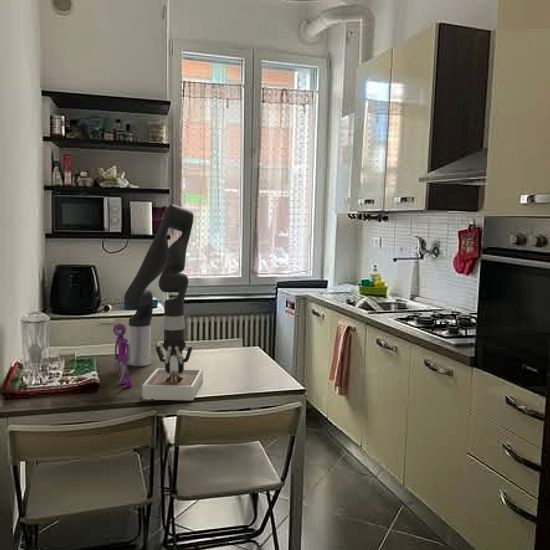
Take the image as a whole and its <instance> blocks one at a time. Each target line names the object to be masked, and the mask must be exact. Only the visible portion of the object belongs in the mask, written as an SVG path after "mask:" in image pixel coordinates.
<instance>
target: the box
mask: <svg viewBox="0 0 550 550" xmlns="http://www.w3.org/2000/svg"><path fill="white" fill-rule="evenodd" d="M159 374H169V373H167V372H166V371H165V368H160V367H159V368H156V369H155V370H154V371H153V372H152V373H151V374H150V376H149V377H148V378H147V379H146V380H145V381H144V383H143V384H142V386H141V388H142V389H141V390H142V391H141V392H142V393H141V394H142V395H141V398H142V400H151V399H154V400H153V401H155V400H157V401H158V400H159V401H161V400H162V401H194V399H195V397H196V395H197V394H198V391H199V390H200V388H201V386H202V384H203V382H204V369H201V368H200V369H199V368H197V369H196V368H184V370H183V372H182V373H181V374H186V375H196V378H195V379H194V381H193V383H192V384H191V386H180V385H151V384H152V383H153V381H154V380H155V379H156V378H157V377H158V375H159Z"/></svg>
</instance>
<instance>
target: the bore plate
mask: <svg viewBox="0 0 550 550" xmlns="http://www.w3.org/2000/svg"><path fill="white" fill-rule="evenodd" d="M195 378H196V375H186V374H180V382H169V374H159V375H158V377H157V378H156V379H155V380H154V381H153V383H152V384H151V385H180V386H191V384H192V383H193V381H194V379H195Z"/></svg>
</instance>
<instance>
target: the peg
mask: <svg viewBox="0 0 550 550" xmlns="http://www.w3.org/2000/svg"><path fill="white" fill-rule="evenodd" d="M179 363H180V362H179V358H178V356H177V355H175V354H173V355H170V357H169V382H180V373H179Z"/></svg>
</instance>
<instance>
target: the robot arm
mask: <svg viewBox="0 0 550 550" xmlns="http://www.w3.org/2000/svg"><path fill="white" fill-rule="evenodd" d="M161 219H162V220H161V221H160V225H159V227H158V230H157V231H156V234H155V237H154V239H153V240H152V243H151V244H150V245H149V248H148V250H147V252H146V254H145V256H144V258H143V261H142V263H141V265H140V267H139V269H138V270H137V273H136V275H135V277H134V279H133V280H132V282H131V283H130V285H129V286H128V288H127V290H126V292H125V293H124V296H123V304H124V306H125V308H126V309H128V310H130V311H136V312H135V313H134V314H133V315H132V316H131V317H130V318H128V342H127V343H128V346H129V352H128V357H129V361H128V362H127V366H132V367H145V366H149V365H151V364H152V342H151V341H152V337H151V336H152V334H151V333H152V332H151V329H152V326H151V324H152V322H151V321H152V319H153V307H154V299H153V298H154V297H153V293H152V291H151V289H149V287H148V286H149V285H151V284H152V283H153V282H154V281H155V280H156V279H157V278H158V277H159V276H160V277H159V279H158V288H159V290H160V291H161V292H163V293H178V294H177V296H175V297H171V298H168V299H166V300H164V303H163V304H164V305H163V309H164V311H163V312H164V313H163V315H164V316H163V343H162V344H158V345H157V346H155V350H156V354H157V356H158V359H159V361H160V363H161V362H163V363H164V366H165V367H164V369H165V371H166V372H167V373H169V357H170V355H173V354H175V355H177V356H178V358H179V362H180V363H179V373H180V374H181V373H182V372H183V370H184V369H185V367H184V365H185V364H184V363H187V362H188V361H189V360H190V357H191V354H192V351H193V349H194V346H193V345H188V344H187V343H186V341H185V338H186V337H185V334H186V333H185V331H186V329H185V327H186V326H185V325H186V324H185V316H184V312H185V311H184V307H185V305H184V303H185V298H186V294H187V290H188V288H189V287H188V286H189V277H188V276H187V274H186V273H184V270H185V268H186V258H187V257H186V256H187V255H186V254H187V249H188V245H189V241H190V237H191V233H192V228H193V224H194V213H193V211H191V210H190V209H187V208H184V207H181V206H179V205H177V204H172V203H171V204H170V205H168V207H166V209H165V212H164V214H163V217H162V218H161ZM169 229H172V230H176V231H178V232H181V235H180V236H179V237H178V238H177V239H176V240H175V241H174V242H173V243H171V244H170V246H169V242H168V230H169ZM184 349H185V351H186V354H185V358H184V354H183V351H184ZM163 350H164V351H165V352H166V356H165V355H164V354H163Z"/></svg>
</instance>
